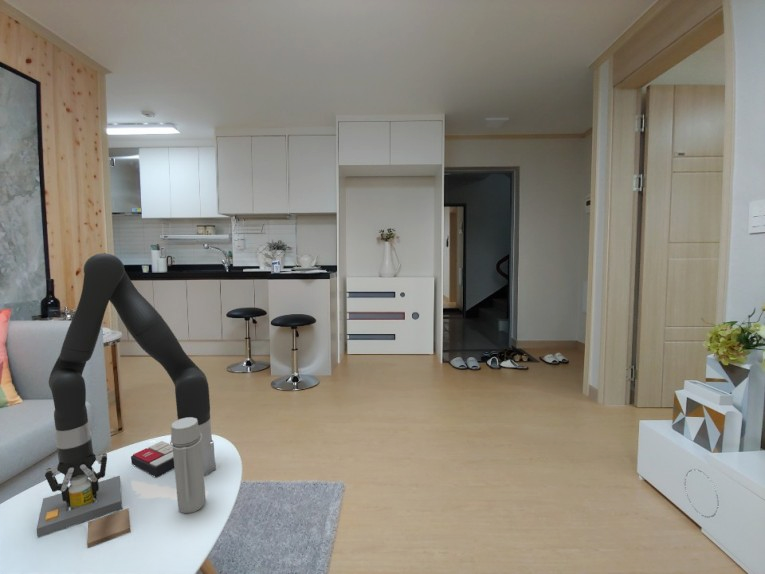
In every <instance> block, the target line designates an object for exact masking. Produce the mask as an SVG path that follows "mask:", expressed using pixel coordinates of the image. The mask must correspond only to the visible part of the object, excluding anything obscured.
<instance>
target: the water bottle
mask: <svg viewBox="0 0 765 574" xmlns="http://www.w3.org/2000/svg"><path fill="white" fill-rule="evenodd" d="M170 426H171V427H170V443H169V444H170V445H171V447H173V457H174V476H175V488H176V497H177V507H178V511H179V512H180V513H183V514H192V513H194V512H197V511H199V510H201V509H202V508H203V507H204V505H205V503H206V501H207V498H206V487H205V486H206V485H205V476H204V472H203V459H202V447H201V439H202V434H201V433H200V431H199V425H198V421H197V419H196V418H193V417H189V418H183V419H179V420H178V419H177V420H175V421H173V422H172V423H171V424H170Z"/></svg>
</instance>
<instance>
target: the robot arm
mask: <svg viewBox="0 0 765 574" xmlns="http://www.w3.org/2000/svg"><path fill="white" fill-rule="evenodd" d="M82 281H83V283H82V290H81V295H80V297H79V301H78V303H77V306H76V307H77V308H76V310H75V312H74V315H73V317H72V319H71V322H70V324H69V326H68V328H67V331H66V334H65V337H64V339H63V342H62V346H61V349H60V353H59V356H58V357H57V359H56V362H55V363H54V365H53V367H52V370H51V372H50V375H49V377H48V388H49V389H50V390H51V395H52V400H53V405H54V411H53V419H54V426H55V427H54V428H55V445H56V450H57V459H58V464H57V466H55V467H52V468H49V467H48V468H47V469H46V470H45V474H44V477H45V478H46V481H47V483H48V485H49V488H50V490H51V492H52V493H54V492H58V491H59V492H60V493H62V499H63V501H66V503H68V502H70V500H69V493H68V488H69V484H70V478H73V477H76V476H78V475H84V474H86V475H87V476H88V479H90V480H91V481H92V490H93V494H96V491H98V490H99V484H98V482H99V480H100V479H101V478H102V479H103V478H104V477H106V471H107V470H106V469H107V462H108V453H106V452H103V454H101V455H96V454H95V453H94V448H93V440H92V433H91V427H90V424H89V417H88V409H87V405H86V400H87V397H86V396H87V394H86V393H87V391H86V390H87V388H86V387H87V386H86V381H85V379H84V377H83V372H84V370H85V366H86V365H87V362H89V360H91V358H92V356H93V353H94V351H95V349H96V348H95V347H96V344H97V341H98V339H99V336H100V332H101V328H102V325H103V320H104V316H105V313H106V310H107V307H108V304H109V302H110V303H111V304H112V306H113V307H114V309H115V310H116V312H117V315H118V316H119V318H120V319H121V321H122V323H123V325H124V326H125V328H126V330H127V331H128V333H129V334H130V336H132V338H133V339H134V340H135V342H136V343H137V344H138V345H139V347H140V348H141V349H142V350H143V352H145V353H146V354H147V355H148V356H150V357H151V358H152V359H153V360H154V361H156V362H158V363H159V364H160V365H161V366H162V367H163V369H164V370H165V371H166V373H167V375H168V376H169V378H170V379H171V381H172V382H173V384H174V388H175V389H174V391H175V392H174V394H175V405H176V406H175V407H176V416H177V420H179V419H183V418H189V417H193V418H196V419H197V421H198V425H199V431H200V433H201V434H202V439H201V447H202V459H203V472H204V477H205V476H207V475H209V474H210V473H212V472H213V471H215V470H216V458H215V455H216V454H215V444H214V440H213V438H212V437H213V436H212V435H213V434H212V423H211V421H212V420H211V401H210V399H211V398H210V387H209V383H208V378H207V376H206V374H205V373H204V371H202V369H201V368H200V367H198V365H197V364H196V363H195V362H194V361H193V360H192V359H191V358H190V357H189V356H188V355H187V353H186V352H185V350H184V349H183V347H182V346H181V344H180V341H179V340H178V338H177V336H176V335H175V334H174V332H173V331H172V329H171V327H170V326H169V325H168V323H167V322H166V321H165V319H164V318H163V316H162V315H161V314H160V312H158V311H157V310H156V308H155V307H154V306H153V305H152V304H151V303H150V302H149V301H148V300H147V299H146V298H145V297H144V296H143V295H142V294H141V293H140V292H139V290H138V289H137V288H136V287H135V285H134V284H133V282H132V280H131V279H130V276H129V275H128V273H127V271H126V270H125V265H124V263H123V262H122V260H120V258H118V257H117V256H115V255H113V254H111V253H105V252H104V253H98V254H94V255H92V256H90V257H89V258H88V259H87V260H86V261H85V263H84V265H83V280H82ZM96 461H97V464H99V465H100V467H99V471H98V472H96V471H95V470H94V467H93V465H94V464H95V462H96ZM58 472H59V473H61V474H62V475H64V477H63V479H62V483H59V482H58V480H57V473H58Z"/></svg>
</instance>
